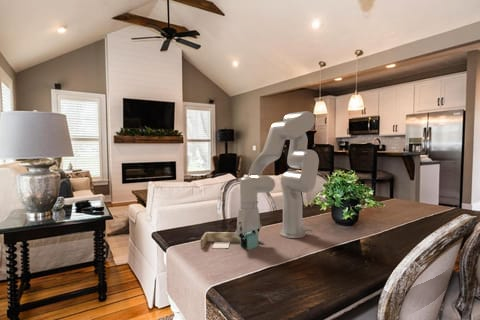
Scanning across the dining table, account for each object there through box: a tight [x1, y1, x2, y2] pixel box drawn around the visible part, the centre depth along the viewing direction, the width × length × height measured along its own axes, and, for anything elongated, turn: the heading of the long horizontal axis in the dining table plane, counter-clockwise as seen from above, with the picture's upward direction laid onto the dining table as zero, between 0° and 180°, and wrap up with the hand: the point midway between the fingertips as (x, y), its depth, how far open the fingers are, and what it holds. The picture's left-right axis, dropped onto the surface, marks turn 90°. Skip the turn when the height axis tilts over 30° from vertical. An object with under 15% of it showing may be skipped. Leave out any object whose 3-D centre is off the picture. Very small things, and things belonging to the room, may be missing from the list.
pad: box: [211, 241, 231, 249], centre depth 123 cm, size 7×7×1 cm
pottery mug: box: [226, 216, 238, 232], centre depth 143 cm, size 12×10×8 cm
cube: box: [239, 231, 259, 251], centre depth 121 cm, size 6×6×6 cm
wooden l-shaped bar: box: [200, 231, 241, 250], centre depth 123 cm, size 25×10×4 cm, turn 86°
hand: (249, 245), depth 121 cm, fingers closed on cube, 5 cm apart
